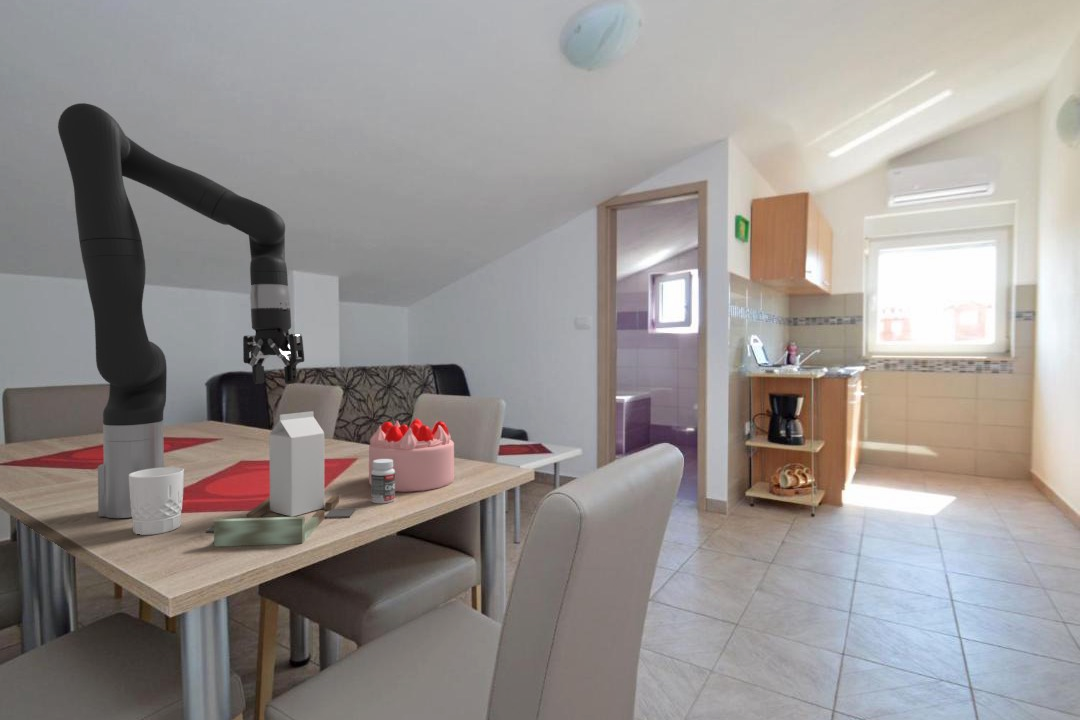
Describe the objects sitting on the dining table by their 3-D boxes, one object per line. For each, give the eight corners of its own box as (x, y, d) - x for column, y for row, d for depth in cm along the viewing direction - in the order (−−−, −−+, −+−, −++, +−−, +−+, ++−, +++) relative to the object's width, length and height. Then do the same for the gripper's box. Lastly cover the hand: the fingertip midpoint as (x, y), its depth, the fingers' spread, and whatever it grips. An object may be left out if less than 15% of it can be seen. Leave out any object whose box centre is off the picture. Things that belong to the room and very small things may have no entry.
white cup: (152, 521, 98) (151, 466, 98) (194, 522, 98) (194, 467, 98) (117, 536, 90) (116, 476, 90) (163, 537, 90) (162, 477, 90)
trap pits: (204, 535, 91) (204, 533, 91) (209, 524, 97) (209, 522, 97) (358, 516, 102) (358, 514, 102) (354, 507, 107) (354, 506, 107)
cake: (392, 498, 115) (392, 431, 115) (354, 480, 130) (354, 421, 130) (469, 483, 128) (469, 423, 127) (427, 469, 143) (427, 415, 142)
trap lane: (214, 546, 86) (214, 521, 86) (270, 504, 109) (269, 484, 109) (302, 543, 88) (302, 518, 87) (338, 502, 111) (338, 483, 111)
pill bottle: (388, 504, 110) (388, 463, 109) (366, 503, 111) (366, 462, 110) (399, 498, 114) (399, 458, 114) (378, 497, 115) (378, 457, 115)
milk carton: (324, 508, 107) (324, 412, 106) (291, 517, 101) (290, 416, 100) (302, 502, 110) (302, 410, 110) (269, 511, 105) (268, 413, 104)
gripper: (230, 308, 113) (234, 385, 114) (283, 304, 108) (287, 385, 109) (259, 309, 120) (263, 382, 121) (310, 306, 116) (314, 382, 116)
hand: (274, 383), depth 115 cm, fingers open, 8 cm apart
